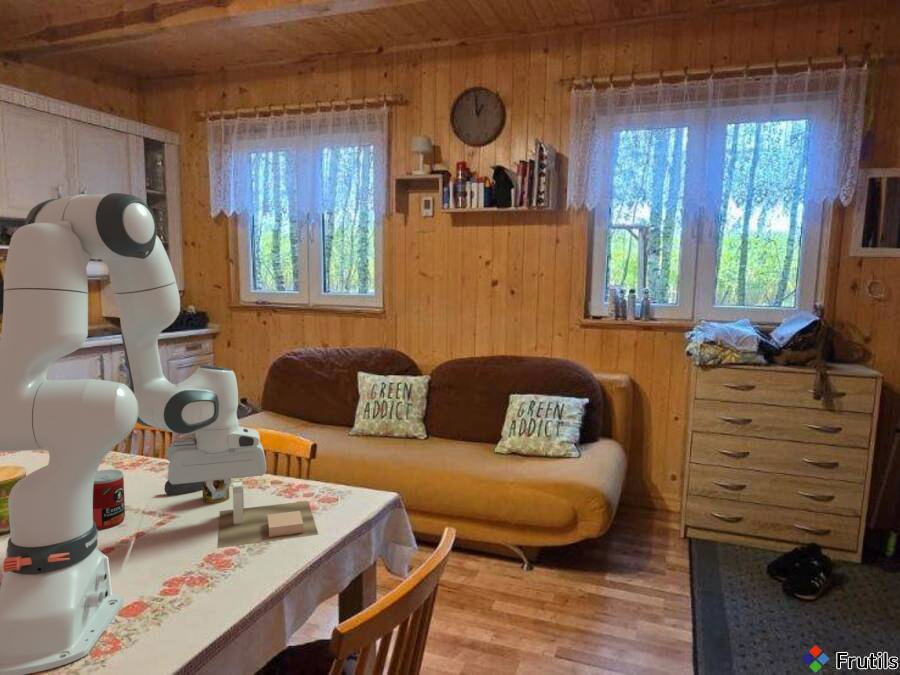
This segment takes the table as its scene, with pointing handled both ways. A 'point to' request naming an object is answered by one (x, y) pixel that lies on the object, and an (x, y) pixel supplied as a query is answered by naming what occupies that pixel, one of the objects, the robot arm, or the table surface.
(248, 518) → the walnut board
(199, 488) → the perforated stone tool
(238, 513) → the cream tile
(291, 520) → the terracotta tile
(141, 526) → the table surface
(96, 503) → the canned food
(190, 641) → the table surface
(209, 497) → the condiment
